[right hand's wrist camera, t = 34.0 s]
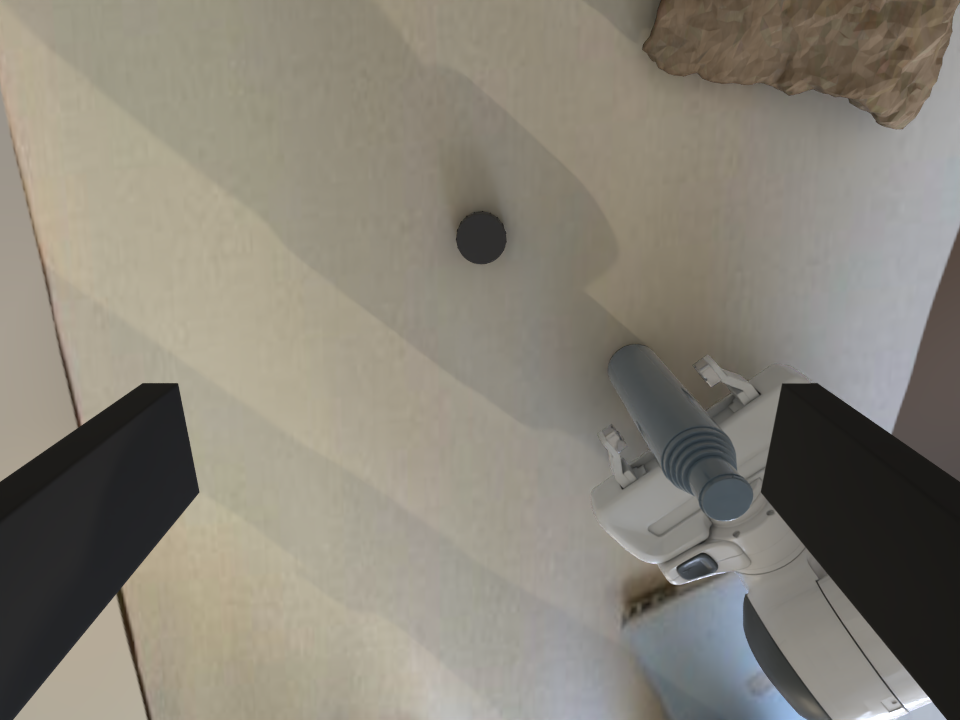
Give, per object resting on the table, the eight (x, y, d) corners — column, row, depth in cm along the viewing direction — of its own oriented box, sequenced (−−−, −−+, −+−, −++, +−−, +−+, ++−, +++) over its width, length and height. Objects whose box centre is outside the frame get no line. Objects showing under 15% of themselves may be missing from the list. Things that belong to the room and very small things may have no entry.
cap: (516, 236, 48) (517, 239, 46) (481, 270, 49) (481, 275, 47) (481, 200, 47) (481, 202, 45) (446, 236, 48) (445, 239, 46)
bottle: (649, 397, 53) (750, 542, 33) (601, 386, 53) (673, 526, 33) (666, 350, 52) (783, 473, 32) (616, 339, 51) (703, 456, 31)
